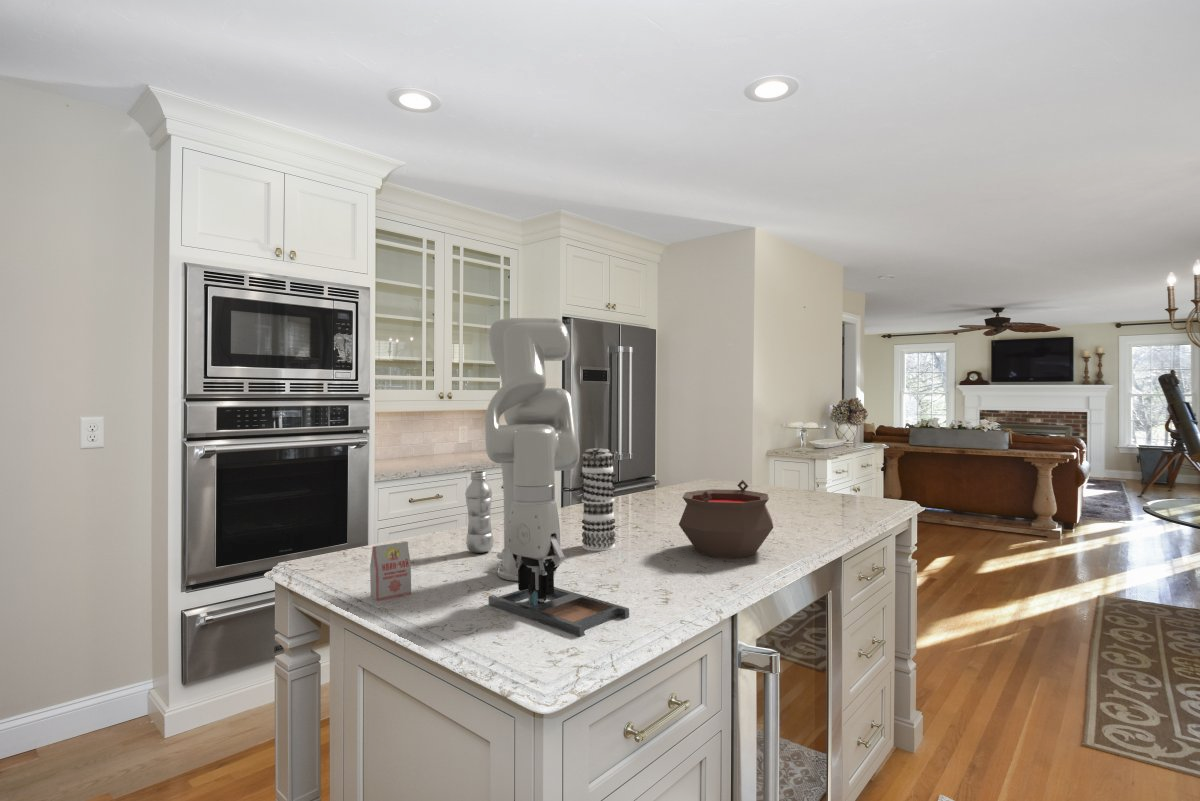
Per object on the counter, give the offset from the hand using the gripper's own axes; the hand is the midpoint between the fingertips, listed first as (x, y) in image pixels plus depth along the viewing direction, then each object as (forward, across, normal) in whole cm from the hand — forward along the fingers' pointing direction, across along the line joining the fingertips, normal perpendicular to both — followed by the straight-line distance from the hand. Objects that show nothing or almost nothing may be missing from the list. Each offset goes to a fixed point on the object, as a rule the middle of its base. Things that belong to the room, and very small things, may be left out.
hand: (536, 591), depth 117 cm
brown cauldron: (+3, +5, +57) cm, 57 cm away
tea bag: (+3, -26, -15) cm, 30 cm away
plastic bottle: (+3, -41, +17) cm, 44 cm away
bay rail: (+2, +6, 0) cm, 6 cm away
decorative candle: (+3, -22, +40) cm, 46 cm away
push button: (+3, 0, 0) cm, 3 cm away
